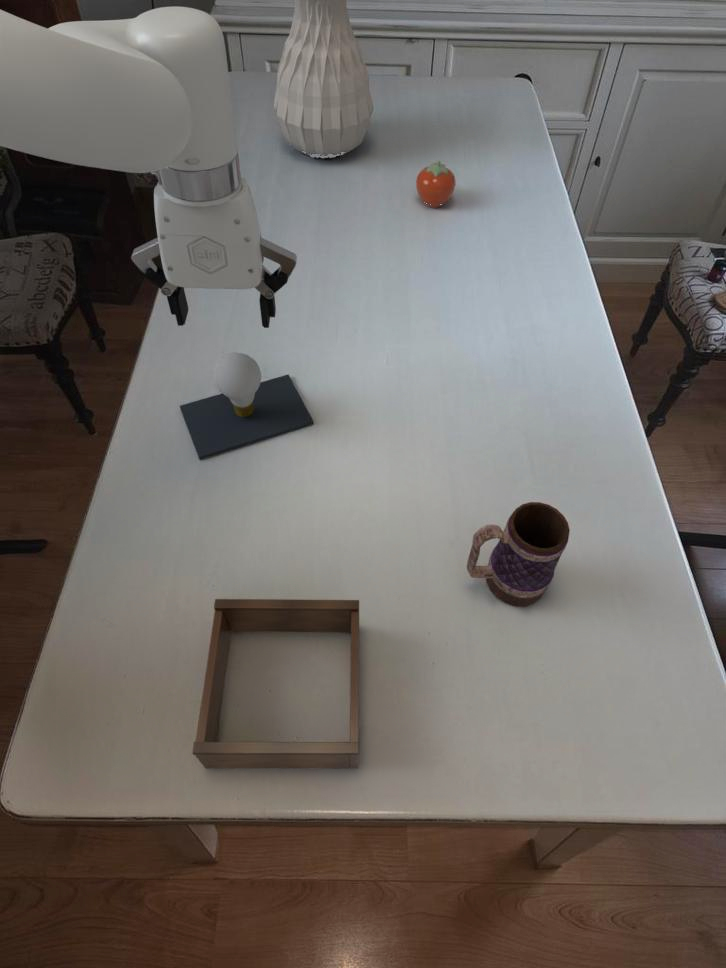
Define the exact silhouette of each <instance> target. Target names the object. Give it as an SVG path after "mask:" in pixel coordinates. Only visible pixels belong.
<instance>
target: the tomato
mask: <svg viewBox="0 0 726 968" xmlns="http://www.w3.org/2000/svg"><path fill="white" fill-rule="evenodd" d="M456 185H457V184H456V177H455V174H454V172H452V170H450V169H449V168H447V167H446V164H443V163H442V162H441V160H439V159H437V160H436V161H435V162H432V163H431V164H430V165H428V166H426V167H424V168H423V169H421V170H420V171H419V173H418V174H417V176H416V179H415V186H416V192H417V195H418V197H419V200H420V201H421V202H422V203H423V204H424V205H425V206H427V207H429V208H433V209H435V208H441V207H442V206H444V205H445V204H446V203H448V202H449V200H450V199H451V197H452V195H453V194H454V191H455V189H456ZM424 202H425V203H424ZM426 203H427V204H426ZM430 204H431V205H430ZM440 204H442V205H440Z"/></svg>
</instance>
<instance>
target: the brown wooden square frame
mask: <svg viewBox="0 0 726 968" xmlns="http://www.w3.org/2000/svg"><path fill="white" fill-rule="evenodd" d="M213 609H214V615H213V622H212V627H211V635H210V640H209V649H208V654H207V660H206V661H207V662H206V669H205V675H204V682H203V689H202V695H201V704H200V709H199V716H198V723H197V729H196V736H195V741H194V742H193V746H192V752H191V753H192V755H193V756H195V757H196V759H197V760H198V761H199V763H200V764H201V765H202V766H203V768H204V769H359V759H360V758H359V757H360V600H359V599H277V598H276V599H275V598H273V599H270V598H269V599H267V598H266V599H262V598H261V599H259V598H257V599H255V598H251V599H250V598H236V599H235V598H231V599H229V598H215V599H214V605H213ZM231 632H265V633H266V632H271V633H272V632H277V633H278V632H280V633H281V632H282V633H286V632H288V633H290V632H293V633H294V632H295V633H297V632H299V633H307V632H308V633H350V677H349V678H350V679H349V680H350V682H349V685H350V689H349V691H350V692H349V741H218V734H219V726H220V717H221V712H222V711H221V710H222V702H223V695H224V688H225V687H224V686H225V681H226V679H225V678H226V671H227V665H228V656H229V649H230V640H231Z"/></svg>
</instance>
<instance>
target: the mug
mask: <svg viewBox="0 0 726 968" xmlns="http://www.w3.org/2000/svg"><path fill="white" fill-rule="evenodd" d="M570 531H571V530H570V525H569V522H568V520H567V518H566V517H565V515H564V514H563V513H562V512H561V511H559V509H557V508H555V507H553V505H550V504H548V503H543V502H539V501H530V502H526V503H523V504H521V505H519V506H518V507H516V508H515V509H514V511H513V512H512V513H511V514H510V516H509V517H508V520H507V521H506V523H505V527H504V529H502V528H501V526H500V525H497V524H486V525H484V526H481V527H479V529H478V530H477V531H475V533H474V534H473V536H472V543H471V544H472V545H471V548H470V552H469V555H468V558H467V563H466V570H467V572H468V574H469V575H470V578H472V579H477V580H478V579H485V581H486V585H487V586H488V590H489V591H490V592H491V593H492V594H493V596H495V597H496V599H498V600H500V601H501V602H503V603H505V604H506V605H507V604H508V605H511V606H514V607H527V606H530V605H533V604H535V603H537V602H538V601H539V600H541V598H542V597H543V595H544V594H545V592H546V591H547V589H548V587H549V586H550V584H551V582H552V581H553V579H554V575H555V570H556V567H557V566H558V564H559V561H560V559H561V556H562V555H563V553H564V551H565V549H566V547H567V545H568V543H569V536H570ZM494 539H498V541H497V543H496V545H495V546H494V548H493V549H492V551H491V553H490V555H489V559H488V562H487V563H488V564H487V565H477V564H478V560H479V558H480V553H481V552H480V551H481V548H482V546H483V545H484V544H485V543H486V542H489V541H490V540H494Z"/></svg>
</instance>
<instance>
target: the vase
mask: <svg viewBox="0 0 726 968" xmlns="http://www.w3.org/2000/svg"><path fill="white" fill-rule="evenodd" d="M293 10H294V11H293V17H292V23H291V25H290V26H291V27H290V31H289V35H288V36H287V38H286V40H285V43H284V45H283V49H282V54H281V58H280V59H279V62H278V68H277V74H276V88H275V93H274V99H273V100H274V101H273V109H274V112H275V116H276V119H277V122H278V125H279V128H280V131H281V134H282V136H283V138H284V140H285V142H286V143H287V144H288V145H289V146H291V145H293V147H292V148H293V149H295V150H296V151H298V152H300V151H305V152H306V154H311V155H312V154H320V156H322V155H324V156H327V155H328V154H333V155H337V154H340V155H339V156H340V158H341V157H343V156H345V155H346V154H348V153H349V152H352V151H354V150H355V149H356V148H357V147H359V146H360V145H361V144H362V143H363V141H364V138H365V136H366V133H367V131H368V128H369V126H370V122H371V119H372V116H373V112H374V103H373V99H372V94H371V90H370V77H369V74H368V69H367V68H368V67H367V65H366V62H365V60H364V58H363V52H362V50H361V47H360V44H359V42H358V40H357V38H356V36H355V34H354V33H355V32H354V31H353V30H354V29H353V27H352V24H351V21H350V16H349V12H348V8H347V0H294V9H293ZM354 148H355V149H354ZM351 150H352V151H351ZM341 152H345V154H343V155H341Z"/></svg>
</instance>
